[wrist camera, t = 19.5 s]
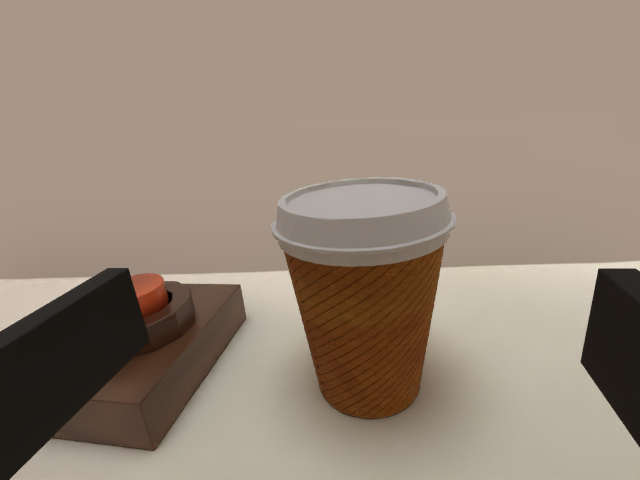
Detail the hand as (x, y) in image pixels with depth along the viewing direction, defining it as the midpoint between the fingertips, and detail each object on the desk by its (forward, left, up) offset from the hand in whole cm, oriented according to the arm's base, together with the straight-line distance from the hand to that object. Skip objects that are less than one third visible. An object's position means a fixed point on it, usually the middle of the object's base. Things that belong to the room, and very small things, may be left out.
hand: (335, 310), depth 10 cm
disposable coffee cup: (0, -10, -11) cm, 15 cm away
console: (+16, -10, -11) cm, 21 cm away
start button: (+15, -10, -6) cm, 19 cm away
